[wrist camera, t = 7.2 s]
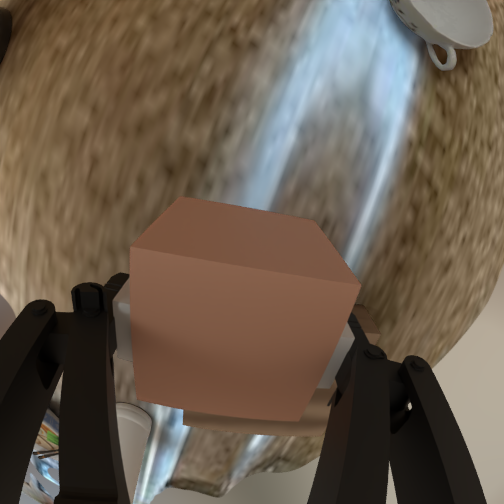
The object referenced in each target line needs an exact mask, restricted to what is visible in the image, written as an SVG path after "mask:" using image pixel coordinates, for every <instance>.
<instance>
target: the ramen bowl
mask: <svg viewBox="0 0 504 504" xmlns="http://www.w3.org/2000/svg"><path fill="white" fill-rule="evenodd" d="M58 440H59V418H58V417H57V416H56V415H55V414H54V413H53V412H52V411H51V410H50V409H49V408H48V409H47V411H46V414H45V417H44V419H43V422H42V425H41V428H40V430H39V433H38V436H37V439H36V442H35V445H34V448H33V449H35V450H37V451H38V452H33V453H32V454H34V455H38V454H44V455H42V456H39V457H38V458H39V459H43V458H47V457H50V458H52V459H55V460H58V461H59V458H58Z"/></svg>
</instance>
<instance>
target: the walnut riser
mask: <svg viewBox="0 0 504 504" xmlns="http://www.w3.org/2000/svg"><path fill="white" fill-rule="evenodd" d="M351 312H352V313H353V314H354V315H355V316H356V318H357V320H358V322H359V323H360V325H361V327H362V328H361V329H363V331H364V333H365V335H366V337H367V339H368V340H369V342H370V344H373V345H376V343H377V341H378V339H379V337H380V335H381V333H380V332H379V330H378V328H377V327H376V325H375V323H374V322H373V320H372V318H371V317H370V315H369V313H368V312H367V310H366V309H365V307H364V305H356V304H354V306H353V309H352V311H351ZM336 388H337V383H336V380H334V382H333V383H332V385H331V387H330V389H327V388H316V390H315V392H314V394H313V396H312V397H311V399H310V401H309V403H308V405H307V407H306V409H305V411H304V412H303V414H302V416H301V418H300V420H299V421H275V420H260V419H249V418H239V417H230V416H222V415H214V414H207V413H201V412H195V411H189V410H184V411H183V425H186V426H191V427H197V428H204V429H211V430H218V431H226V432H235V433H245V434H257V435H274V436H321V435H322V434H323V432H324V431H325V430H326V428H327V424H328V419H329V414H330V409H331V404H332V403H331V404H330V406H327V404H328V402H329V400H330V399H331V397H332V395H333V393H334V392H335V390H336Z"/></svg>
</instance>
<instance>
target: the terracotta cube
mask: <svg viewBox="0 0 504 504" xmlns="http://www.w3.org/2000/svg"><path fill="white" fill-rule="evenodd" d="M361 286H362V285H361V284H360V283H359V281H358V280H357V278H356V277H355V275H354V274H353V273H352V271H351V270H350V268H349V267H348V265H347V264H346V263H345V261H344V260H343V259H342V257H341V256H340V254H339V253H338V252H337V250H336V249H335V248H334V246H333V245H332V243H331V242H330V241H329V239H328V238H327V237H326V235H325V234H324V233H323V231H322V230H321V229H320V227H319V226H318V225H317V223H316V222H315V221H314V220H309V219H304V218H299V217H294V216H289V215H284V214H279V213H274V212H268V211H263V210H258V209H252V208H247V207H241V206H236V205H230V204H224V203H218V202H213V201H207V200H200V199H194V198H188V197H182V196H180V197H179V198H178V199H177V200H176V201H174V202H173V203H172V204H171V205H170V206H169V207H168V208H167V209H166V210H165V211H164V212H163V213H162V214H161V215H160V216H159V217H158V218H157V219H156V220H155V221H154V222H153V223H152V224H151V225H150V226H149V227H148V228H147V229H146V230H145V231H144V232H143V234H142V235H141V236H140V237H139V238H138V239H137V240H136V241H135V242H134V243H133V244H132V245H131V246H130V322H131V341H132V355H133V367H134V377H135V386H136V395H137V400H141V401H145V402H150V403H154V404H159V405H163V406H168V407H173V408H178V409H183V410H189V411H195V412H201V413H207V414H214V415H222V416H230V417H239V418H249V419H260V420H275V421H299V420H300V418H301V416H302V414H303V412H304V411H305V409H306V407H307V405H308V403H309V401H310V399H311V397H312V396H313V394H314V392H315V390H316V388H317V386H318V384H319V382H320V380H321V378H322V376H323V374H324V372H325V370H326V367H327V365H328V363H329V361H330V359H331V357H332V355H333V353H334V350H335V348H336V346H337V344H338V341H339V339H340V337H341V335H342V332H343V330H344V328H345V325H346V323H347V321H348V318H349V316H350V313H351V311H352V309H353V306H354V304H355V301H356V299H357V296H358V293H359V291H360V288H361Z"/></svg>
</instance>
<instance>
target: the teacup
mask: <svg viewBox="0 0 504 504" xmlns="http://www.w3.org/2000/svg"><path fill="white" fill-rule="evenodd" d="M389 1H390V3H391V6H392V8H393V9H394V11H395V13H396V14H397V16H398V17H399V19H400V20H401V21H402V22H403V23H404V24H405V25H406V26H407V27H408V28H409V29H410V30H411V31H412V32H414V33H415V34H417V35H418V36H420V37H422V38H423V39H424V40H425V41H426V43H427V48H428V52H429V55H430V57H431V59H432V61H433V62H434V64H435V65H436V66H437V68H439V69H440V70H442V71H446V70H452V69H453V68H454V67H455V65H456V61H457V58H456V52H455V50H454V48H455V49H473V48H477V47H481V46H483V45H484V44H485V43H487V42H488V41H489V40H490V36H492V34H493V19H492V14H491V11H490V8H489V6H488V3H487V1H486V0H389ZM433 44H437V45H439V46H440V47H442V48H444V49H445V50H446V51H447V55H448V57H447V63H446V64H444V65H442V64H441V63H440V62H439V60H438V58H437V56H436V54H435V51H434V49H433V46H432V45H433Z"/></svg>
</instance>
